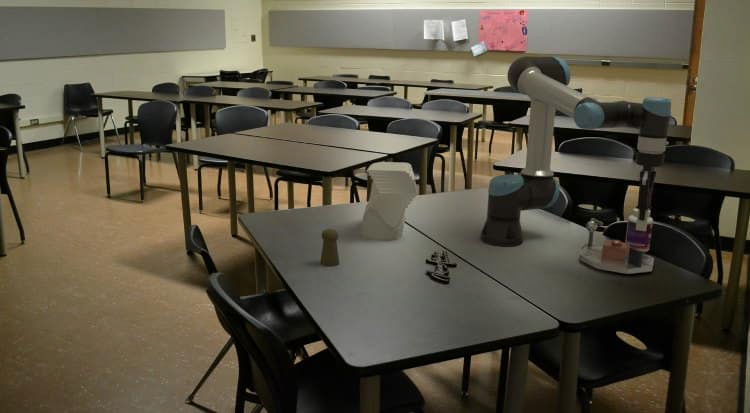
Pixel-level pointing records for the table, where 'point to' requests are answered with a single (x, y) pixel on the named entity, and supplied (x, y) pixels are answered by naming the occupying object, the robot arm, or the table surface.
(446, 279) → the black irregular piece
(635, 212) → the pill bottle
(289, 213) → the table surface
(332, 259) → the cork
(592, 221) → the dial stand
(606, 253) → the pink gift box
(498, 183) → the robot arm
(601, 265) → the turntable
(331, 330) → the table surface
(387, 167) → the paper stack
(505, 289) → the table surface
